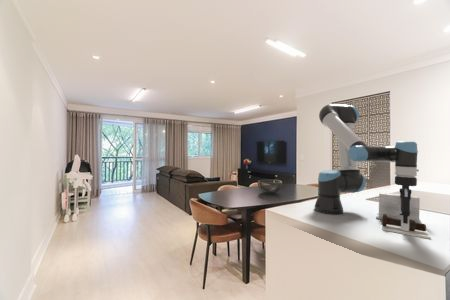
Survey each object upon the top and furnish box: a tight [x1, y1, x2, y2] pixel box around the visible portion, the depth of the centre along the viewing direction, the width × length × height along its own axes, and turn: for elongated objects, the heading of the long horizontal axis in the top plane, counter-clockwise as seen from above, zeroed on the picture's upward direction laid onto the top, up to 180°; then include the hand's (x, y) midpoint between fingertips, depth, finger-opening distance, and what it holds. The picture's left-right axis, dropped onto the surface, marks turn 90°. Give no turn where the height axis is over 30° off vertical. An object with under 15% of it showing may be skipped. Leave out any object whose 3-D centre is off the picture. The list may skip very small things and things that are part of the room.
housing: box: [375, 191, 423, 224], centre depth 113 cm, size 18×10×13 cm, turn 53°
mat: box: [381, 224, 432, 240], centre depth 97 cm, size 16×10×1 cm, turn 53°
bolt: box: [381, 214, 427, 231], centre depth 97 cm, size 6×5×15 cm
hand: (404, 228), depth 97 cm, fingers open, 5 cm apart
